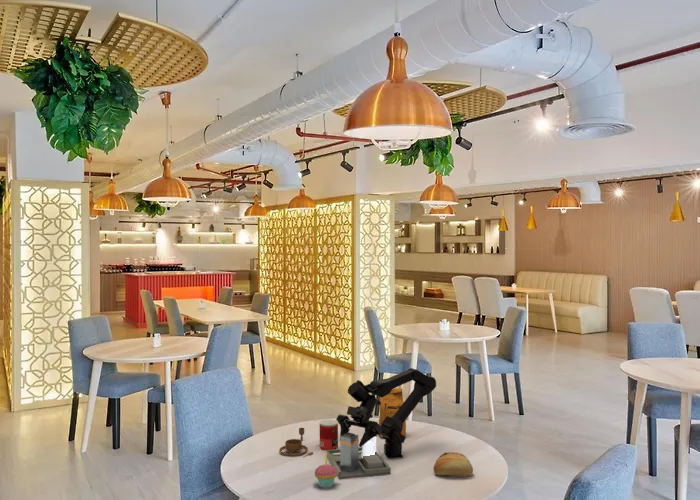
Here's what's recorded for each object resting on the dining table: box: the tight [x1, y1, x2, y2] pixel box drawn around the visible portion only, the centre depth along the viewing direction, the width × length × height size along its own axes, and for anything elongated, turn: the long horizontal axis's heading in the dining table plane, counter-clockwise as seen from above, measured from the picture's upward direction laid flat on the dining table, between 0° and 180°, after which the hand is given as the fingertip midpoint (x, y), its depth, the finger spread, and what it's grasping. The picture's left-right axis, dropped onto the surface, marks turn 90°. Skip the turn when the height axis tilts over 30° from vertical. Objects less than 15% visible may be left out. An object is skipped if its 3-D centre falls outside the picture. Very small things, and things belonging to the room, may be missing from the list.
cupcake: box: [314, 452, 338, 488], centre depth 216 cm, size 9×8×12 cm
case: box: [325, 446, 392, 480], centre depth 236 cm, size 20×26×4 cm
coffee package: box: [378, 387, 407, 438], centre depth 270 cm, size 10×12×22 cm
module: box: [339, 432, 360, 473], centre depth 228 cm, size 5×5×14 cm
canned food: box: [319, 419, 339, 451], centre depth 255 cm, size 8×8×11 cm
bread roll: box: [433, 451, 474, 477], centre depth 226 cm, size 10×15×8 cm, turn 91°
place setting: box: [278, 427, 314, 459], centre depth 254 cm, size 18×20×6 cm
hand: (350, 444), depth 228 cm, fingers open, 9 cm apart
